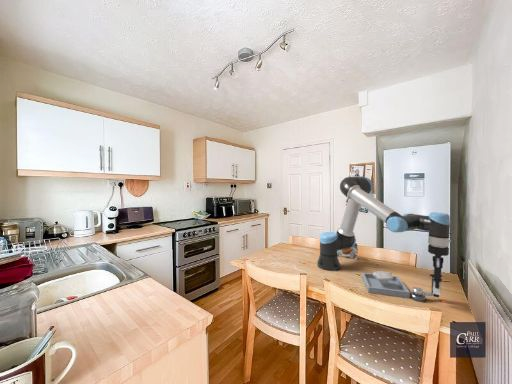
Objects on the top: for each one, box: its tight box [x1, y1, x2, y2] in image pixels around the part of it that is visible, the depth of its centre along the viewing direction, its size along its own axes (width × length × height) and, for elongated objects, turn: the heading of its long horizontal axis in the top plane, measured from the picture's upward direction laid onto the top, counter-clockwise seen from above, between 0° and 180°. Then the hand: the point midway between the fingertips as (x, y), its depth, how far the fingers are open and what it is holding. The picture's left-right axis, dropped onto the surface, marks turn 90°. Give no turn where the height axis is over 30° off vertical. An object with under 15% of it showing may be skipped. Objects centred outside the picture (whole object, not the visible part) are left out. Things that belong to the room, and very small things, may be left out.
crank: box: [412, 273, 443, 298], centre depth 107 cm, size 12×4×11 cm, turn 81°
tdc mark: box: [440, 300, 450, 304], centre depth 105 cm, size 3×1×1 cm, turn 73°
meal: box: [337, 242, 359, 261], centre depth 166 cm, size 15×4×13 cm, turn 53°
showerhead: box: [372, 270, 394, 286], centre depth 121 cm, size 9×7×10 cm
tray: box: [361, 272, 411, 299], centre depth 120 cm, size 19×19×3 cm
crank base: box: [409, 291, 426, 303], centre depth 108 cm, size 6×6×2 cm
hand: (436, 293), depth 103 cm, fingers closed
